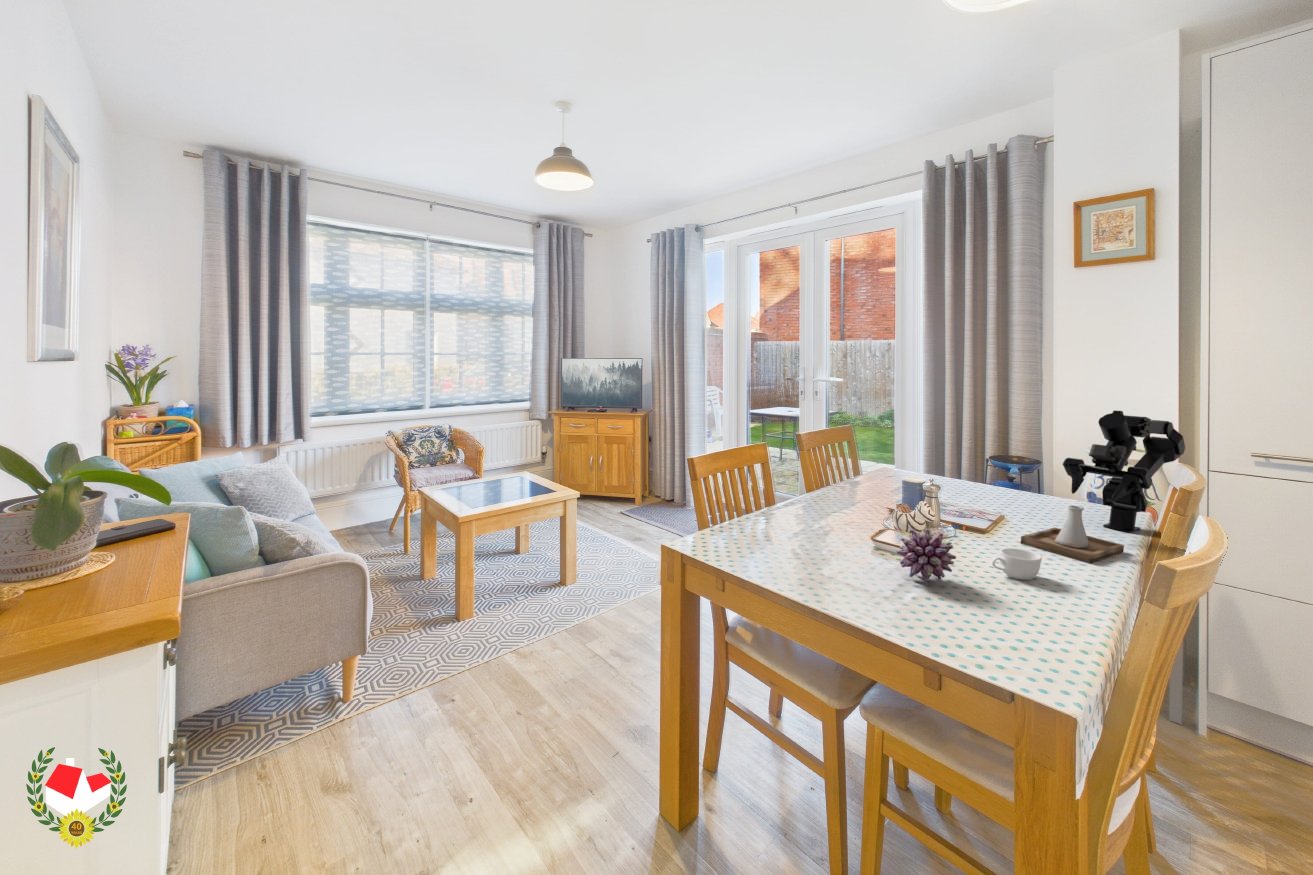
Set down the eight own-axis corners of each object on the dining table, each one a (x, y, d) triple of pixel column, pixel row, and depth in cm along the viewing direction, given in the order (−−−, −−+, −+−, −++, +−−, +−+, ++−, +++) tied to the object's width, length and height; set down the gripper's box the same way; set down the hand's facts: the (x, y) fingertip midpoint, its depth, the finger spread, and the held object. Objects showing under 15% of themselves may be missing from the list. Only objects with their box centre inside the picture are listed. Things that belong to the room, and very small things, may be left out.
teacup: (1024, 569, 127) (1027, 547, 126) (1047, 583, 119) (1050, 560, 119) (981, 569, 127) (983, 547, 126) (1001, 583, 120) (1003, 559, 119)
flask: (1064, 537, 146) (1069, 501, 144) (1095, 546, 139) (1100, 508, 138) (1048, 541, 143) (1052, 505, 141) (1078, 550, 136) (1083, 512, 135)
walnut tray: (1054, 534, 152) (1054, 527, 152) (1123, 552, 138) (1124, 545, 137) (1020, 543, 145) (1021, 536, 144) (1089, 563, 131) (1090, 555, 130)
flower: (891, 567, 129) (894, 519, 127) (947, 573, 125) (951, 523, 123) (898, 587, 118) (902, 534, 116) (959, 593, 114) (964, 539, 112)
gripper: (1069, 429, 154) (1044, 471, 150) (1153, 438, 138) (1127, 485, 134) (1080, 454, 159) (1056, 495, 155) (1162, 465, 142) (1138, 511, 139)
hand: (1092, 496), depth 146 cm, fingers open, 9 cm apart
